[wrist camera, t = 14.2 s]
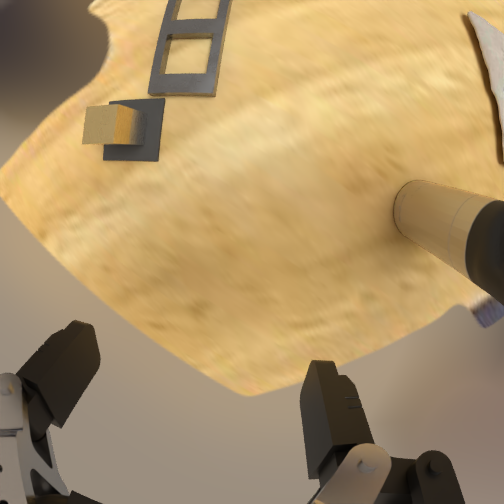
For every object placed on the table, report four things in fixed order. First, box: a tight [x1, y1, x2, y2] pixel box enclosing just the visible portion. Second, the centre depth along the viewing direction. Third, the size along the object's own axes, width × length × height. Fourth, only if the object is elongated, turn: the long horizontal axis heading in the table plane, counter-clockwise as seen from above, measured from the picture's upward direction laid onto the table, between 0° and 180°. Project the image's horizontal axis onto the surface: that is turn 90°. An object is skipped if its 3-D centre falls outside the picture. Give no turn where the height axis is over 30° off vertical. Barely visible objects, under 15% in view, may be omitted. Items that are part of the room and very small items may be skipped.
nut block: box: [82, 104, 148, 145], centre depth 29 cm, size 4×4×9 cm
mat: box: [103, 98, 165, 161], centre depth 34 cm, size 9×9×1 cm
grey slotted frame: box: [148, 0, 232, 97], centre depth 28 cm, size 9×22×2 cm, turn 173°
